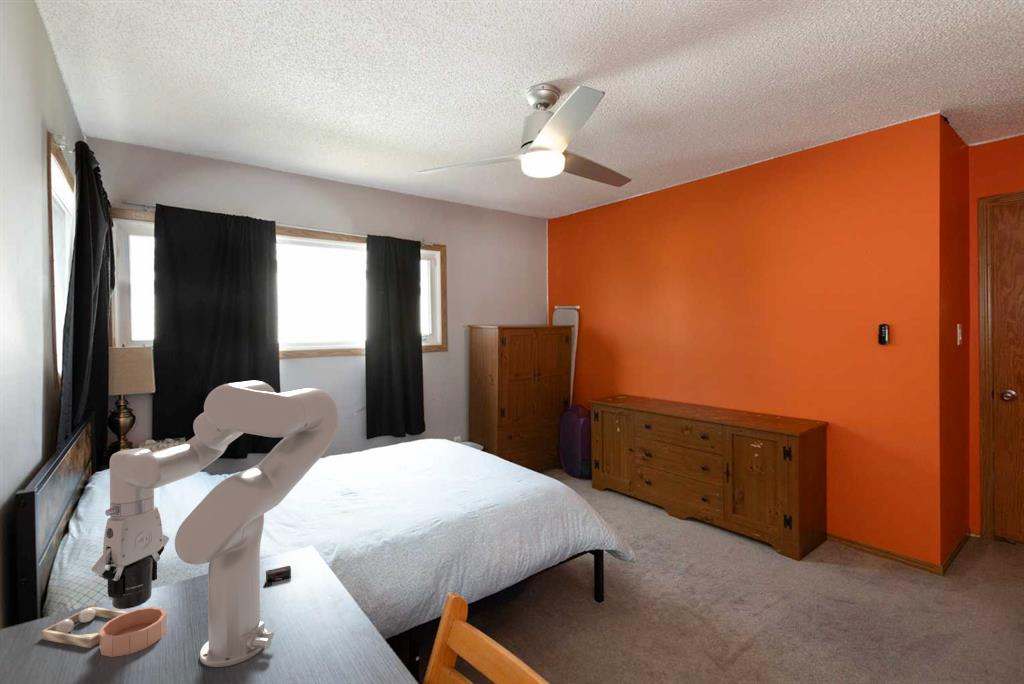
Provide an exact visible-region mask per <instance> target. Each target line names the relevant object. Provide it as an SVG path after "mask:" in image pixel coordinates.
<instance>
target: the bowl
mask: <svg viewBox="0 0 1024 684" xmlns="http://www.w3.org/2000/svg"><path fill="white" fill-rule="evenodd" d="M126 612H127V613H124V614H121V615H119V616H117V617H115V618H114V619H111V620H108V621H107V622H105V624H103V626H102V627H100V629H98V631H99V632H98V633H99V644H98V645H99V651H100V655H102V656H106V657H112V658H113V657H118V656H119V657H120V656H127V655H131V654H133V653H136V652H138V651H141V650H144V649H147V648H149V647H150V646H151V645H153V644H155V643H157V641H159V640H161V639H162V637H164V635H165V633H166V632H167V612H166V611H165V608H164V607H163V608H162V607H159V606H158V607H157V606H149V607H142V608H137V609H134V610H130V611H126Z"/></svg>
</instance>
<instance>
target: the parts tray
mask: <svg viewBox="0 0 1024 684" xmlns="http://www.w3.org/2000/svg"><path fill="white" fill-rule="evenodd" d="M87 608H93V609H94V610H95V611H96V614H95V617H99V618H107V619H111V620H112V619H114V618H115V617H117V616H119V615H121V614H124V613H127V612H128V611H125V610H120V609H110V608H104V607H97V606H93V605H92V606H88V607H87ZM83 610H84V609H83ZM83 610H80V611H79V612H76V613H74V614H73V615H71V616H68V617H66V618H65V619H71V620H72V621H73V622H74V624H76V623H78V622H80V621H79V614H80V613H81V612H82V611H83ZM65 619H64V618H63V620H65ZM59 622H60V621H59ZM59 622H56V623H55V624H52V625H50V626H48V627H46V628H44V629H43V630H41V631H40V633H41V635H40V636H41V640H44V641H50V642H55V643H60V644H66V645H71V646H76V647H81V648H86V649H92V648H94V647H95V646H97V645H99V632H96V633H83V634H73V633H69V632H68V633H63V632H57V631H55V628H56V626H57V624H58V623H59Z"/></svg>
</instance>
